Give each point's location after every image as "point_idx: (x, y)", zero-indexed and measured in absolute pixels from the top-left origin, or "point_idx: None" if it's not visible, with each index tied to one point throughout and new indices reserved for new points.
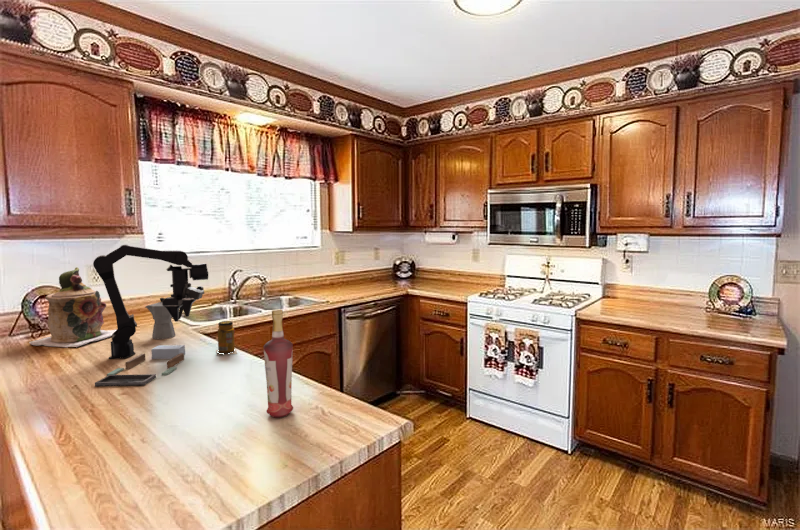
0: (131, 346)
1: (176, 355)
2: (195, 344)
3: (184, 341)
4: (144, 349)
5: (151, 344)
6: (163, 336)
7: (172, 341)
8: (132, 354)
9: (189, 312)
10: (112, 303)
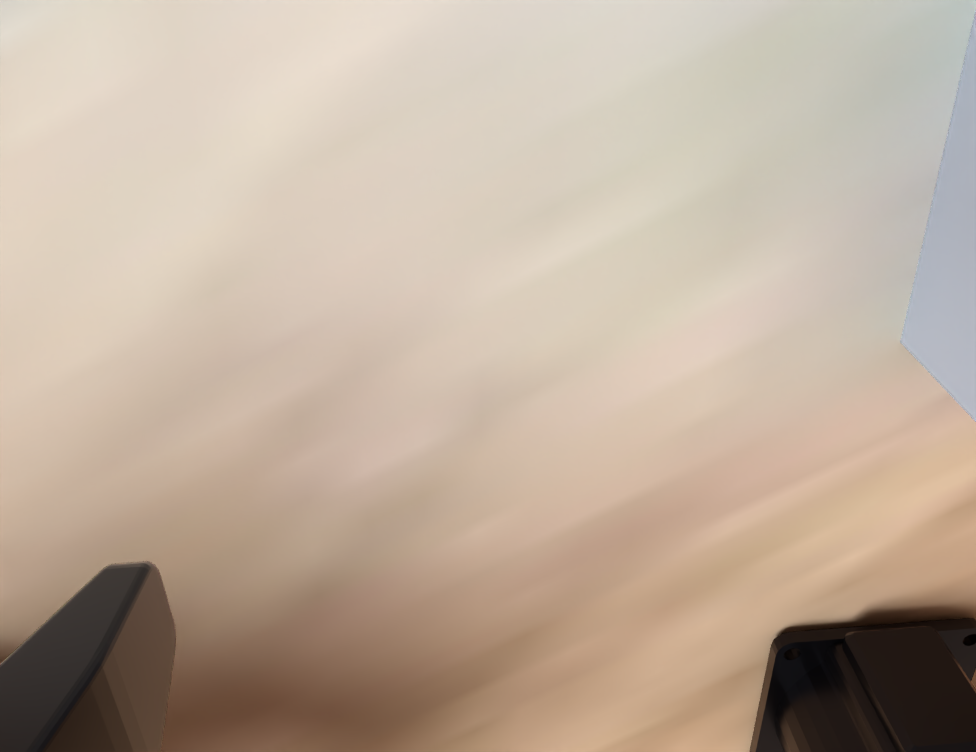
0: (952, 717)
1: None
2: (268, 28)
3: (95, 356)
4: (579, 641)
5: (336, 688)
6: None
7: (137, 531)
8: (851, 632)
9: (39, 685)
10: None
